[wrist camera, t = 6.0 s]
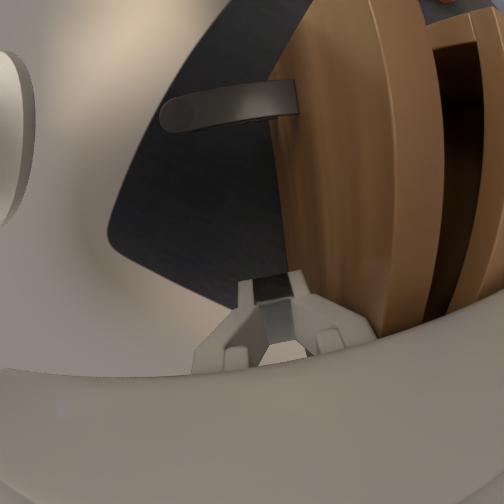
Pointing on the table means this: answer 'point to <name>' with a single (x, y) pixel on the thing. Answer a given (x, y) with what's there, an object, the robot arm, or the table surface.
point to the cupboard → (470, 160)
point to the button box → (446, 1)
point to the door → (349, 153)
